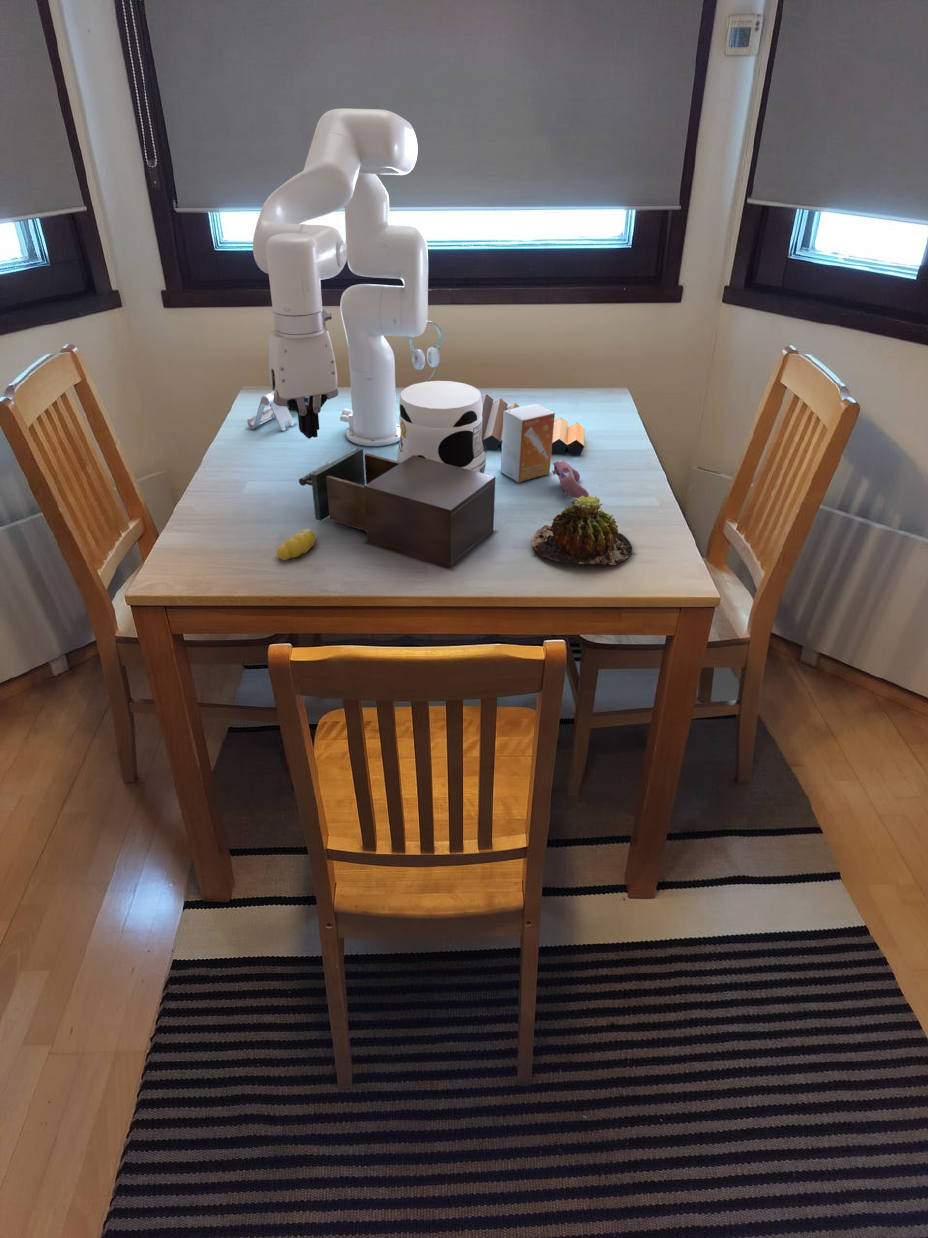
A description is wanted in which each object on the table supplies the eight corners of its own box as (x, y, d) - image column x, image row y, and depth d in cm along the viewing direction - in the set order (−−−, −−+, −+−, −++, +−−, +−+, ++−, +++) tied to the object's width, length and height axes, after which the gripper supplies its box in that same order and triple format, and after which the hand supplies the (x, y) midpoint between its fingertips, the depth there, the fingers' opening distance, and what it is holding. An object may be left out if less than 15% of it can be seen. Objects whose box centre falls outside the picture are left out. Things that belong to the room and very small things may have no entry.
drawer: (291, 512, 151) (286, 466, 146) (337, 484, 160) (333, 441, 155) (387, 542, 142) (385, 494, 137) (429, 511, 152) (429, 465, 147)
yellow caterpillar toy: (292, 566, 137) (290, 548, 135) (274, 560, 138) (271, 542, 136) (325, 544, 143) (323, 526, 141) (307, 538, 145) (305, 521, 143)
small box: (518, 483, 164) (522, 420, 156) (499, 472, 168) (502, 409, 161) (550, 474, 168) (555, 412, 160) (531, 463, 172) (535, 402, 164)
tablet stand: (271, 415, 192) (266, 380, 187) (299, 421, 189) (295, 385, 185) (248, 428, 186) (243, 391, 181) (277, 434, 183) (273, 397, 178)
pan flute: (478, 407, 198) (466, 448, 178) (478, 393, 196) (466, 433, 176) (583, 412, 196) (583, 455, 176) (584, 398, 194) (584, 440, 174)
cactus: (623, 525, 150) (629, 476, 144) (640, 571, 137) (648, 519, 131) (527, 525, 149) (531, 475, 144) (536, 571, 136) (539, 518, 131)
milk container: (386, 471, 168) (383, 383, 157) (467, 460, 173) (468, 374, 162) (411, 508, 154) (409, 415, 144) (498, 495, 159) (501, 404, 149)
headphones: (437, 401, 201) (437, 316, 190) (445, 406, 198) (445, 320, 187) (407, 407, 198) (404, 321, 186) (415, 412, 195) (413, 325, 183)
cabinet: (367, 542, 144) (364, 485, 137) (414, 509, 154) (412, 455, 148) (450, 569, 137) (450, 510, 131) (493, 532, 147) (495, 476, 141)
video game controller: (559, 487, 166) (546, 458, 162) (580, 477, 165) (567, 448, 161) (569, 510, 158) (555, 480, 154) (591, 499, 157) (577, 469, 153)
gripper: (335, 310, 134) (343, 420, 144) (244, 321, 128) (259, 435, 138) (353, 322, 128) (360, 435, 139) (259, 334, 122) (273, 451, 133)
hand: (309, 434), depth 138 cm, fingers closed
